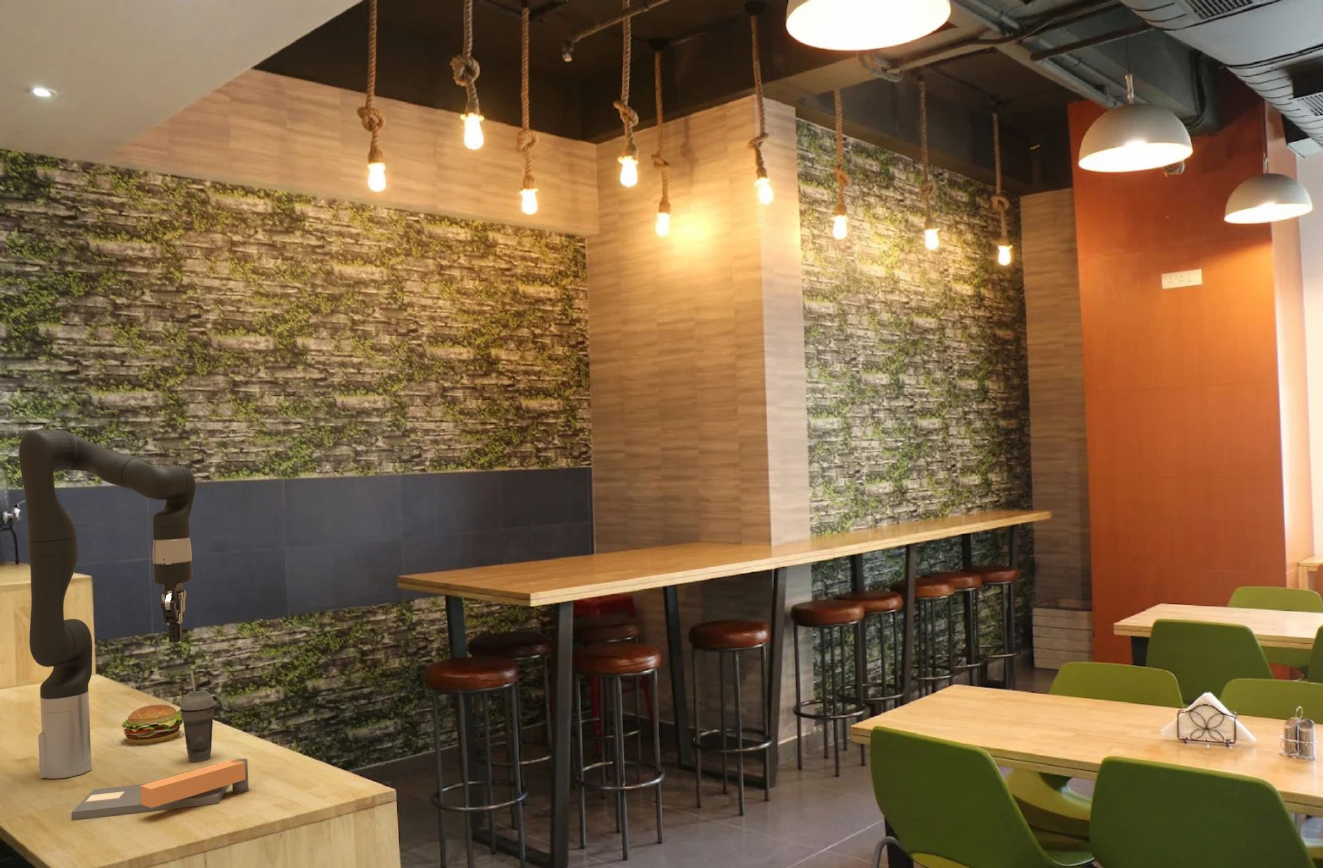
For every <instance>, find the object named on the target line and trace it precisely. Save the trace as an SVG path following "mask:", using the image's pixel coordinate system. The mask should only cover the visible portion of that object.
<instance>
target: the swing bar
mask: <svg viewBox="0 0 1323 868" xmlns="http://www.w3.org/2000/svg"><path fill="white" fill-rule="evenodd" d="M248 763H249V762H248V758H237V759H235V758H234V759H230V760H227V761H224V762H218V763H217V764H213V765H209V766H205V767H202V768H199V769H195V770H191V771H187V772H185V773H181V774H178V775H174V776H170V777H167V778H162V779H159V780H156V781H152V782H148V783H144V784H145V785H141V786H140V792H141V805H144V806H147V807H150V808H153V807H157V806H160V805H163V804H167V803H170V802H173V801H176V800H180V799H183V798H186V797H190V796H193V795H196V794H200V793H203V792H206V791H210V790H213V789H216V788H220V787H223V786H226V785H229V786H230V785H232V784H233V783H236V782H240V781H243V780H246V778H248V779H249V768H248V767H249V765H248Z"/></svg>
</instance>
